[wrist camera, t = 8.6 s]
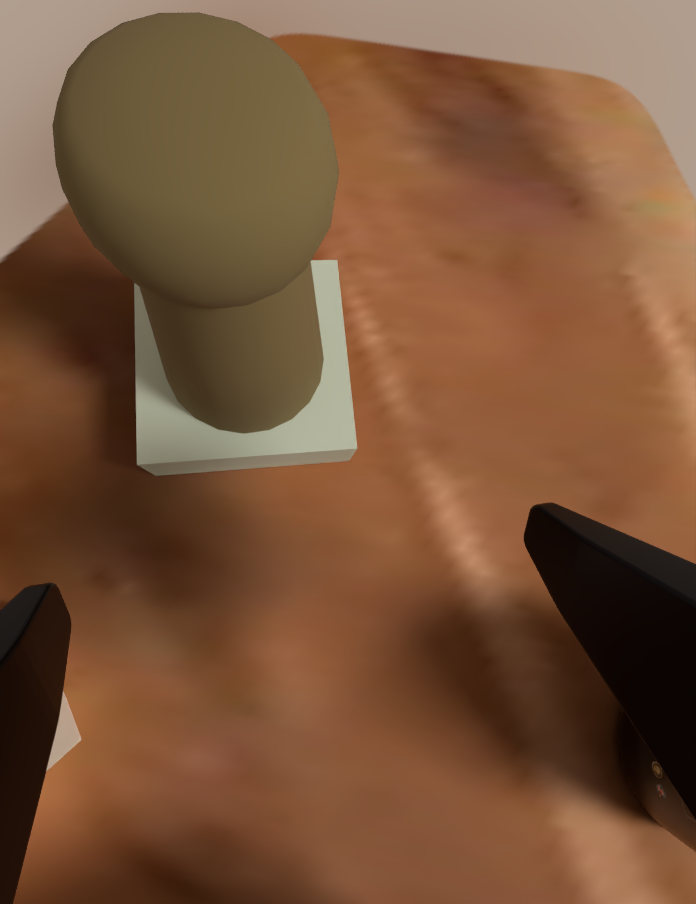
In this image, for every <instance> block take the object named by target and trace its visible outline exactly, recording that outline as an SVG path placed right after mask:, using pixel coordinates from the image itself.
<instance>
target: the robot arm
mask: <svg viewBox="0 0 696 904" xmlns="http://www.w3.org/2000/svg"><path fill="white" fill-rule="evenodd" d="M524 543H525V546H526V549H527V551H528V553H529V554H530V556H531V558H532V560H533V562H534V564H535V566H536V568H537V570H538V572H539V574H540V576H541V578H542V580H543V581H544V583H545V585H546V587H547V589H548V591H549V593H550V595H551V597H552V599H553V601H554V602H555V604H556V606H557V608H558V610H559V611H560V613H561V614H562V616H563V618H564V619H565V621H566V622H567V624H568V626H569V627H570V629H571V630H572V632H573V633H574V635H575V636H576V638H577V639H578V641H579V642H580V644H581V645H582V647H583V649H584V650H585V652H586V653H587V655H588V656H589V658H590V659H591V661H592V662H593V664H594V665H595V667H596V668H597V670H598V672H599V673H600V675H601V676H602V678H603V679H604V681H605V682H606V684H607V685H608V687H609V688H610V690H611V691H612V693H613V695H614V696H615V698H616V699H617V701H618V702H619V704H620V705H621V707H622V708H623V710H624V711H625V713H626V714H627V716H628V718H629V719H630V721H631V722H632V724H633V725H634V727H635V728H636V730H637V731H638V733H639V734H640V736H641V737H642V739H643V741H644V742H645V744H646V745H647V747H648V748H649V750H650V751H651V753H652V754H653V756H654V757H655V759H656V760H657V762H658V764H659V765H660V767H661V768H662V770H663V771H664V773H665V774H666V776H667V777H668V779H669V780H670V782H671V783H672V785H673V787H674V788H675V790H676V791H677V793H678V794H679V796H680V797H681V799H682V800H683V802H684V803H685V805H686V806H687V808H688V810H689V811H690V813H691V814H692V816H693V817H694V819H695V820H696V564H694V563H692V562H690V561H687V560H685V559H683V558H680V557H678V556H676V555H673V554H671V553H669V552H666V551H664V550H662V549H659V548H657V547H655V546H653V545H650V544H648V543H646V542H643V541H641V540H639V539H636V538H634V537H632V536H629V535H627V534H625V533H622V532H620V531H618V530H615V529H613V528H611V527H608V526H606V525H604V524H601V523H599V522H597V521H594V520H592V519H590V518H587V517H585V516H583V515H580V514H578V513H576V512H573V511H571V510H569V509H566V508H564V507H562V506H560V505H557V504H555V503H543V504H536V505H534V506H533V507H532V508H531V509H530V512H529V516H528V520H527V524H526V528H525V532H524ZM70 634H71V619H70V615H69V612H68V610H67V607H66V605H65V603H64V600H63V598H62V595H61V593H60V591H59V588H58V587H57V586H56V584H54V583H44V584H38V585H32V586H28V587H26V588H24V589H23V590H22V591H21V592H20V593H18V594H17V595H16V596H15V597H14V598H13V599H12V600H11V601H10V602H9V603H7V604H6V605H5V606H4V607H3V608H2V609H1V610H0V904H13V901H14V897H15V893H16V889H17V885H18V881H19V878H20V874H21V870H22V866H23V862H24V858H25V854H26V850H27V846H28V842H29V838H30V834H31V830H32V826H33V822H34V818H35V814H36V810H37V806H38V802H39V798H40V794H41V790H42V786H43V782H44V778H45V774H46V770H47V766H48V762H49V758H50V754H51V750H52V746H53V742H54V738H55V734H56V730H57V725H58V721H59V716H60V709H61V703H62V695H63V687H64V680H65V672H66V664H67V657H68V649H69V641H70Z"/></svg>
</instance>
